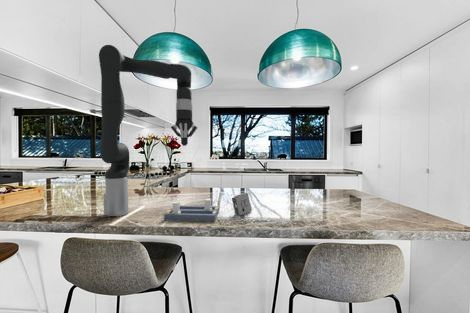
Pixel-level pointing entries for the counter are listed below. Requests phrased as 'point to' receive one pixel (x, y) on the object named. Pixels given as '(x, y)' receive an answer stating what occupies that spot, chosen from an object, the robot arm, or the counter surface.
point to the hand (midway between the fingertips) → (184, 145)
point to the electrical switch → (241, 204)
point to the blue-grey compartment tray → (193, 213)
